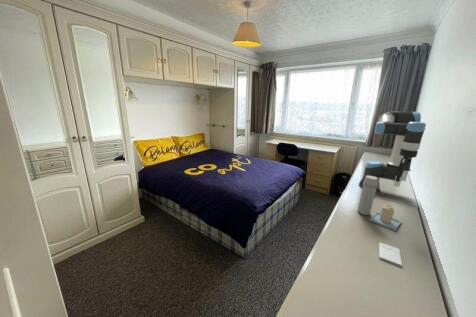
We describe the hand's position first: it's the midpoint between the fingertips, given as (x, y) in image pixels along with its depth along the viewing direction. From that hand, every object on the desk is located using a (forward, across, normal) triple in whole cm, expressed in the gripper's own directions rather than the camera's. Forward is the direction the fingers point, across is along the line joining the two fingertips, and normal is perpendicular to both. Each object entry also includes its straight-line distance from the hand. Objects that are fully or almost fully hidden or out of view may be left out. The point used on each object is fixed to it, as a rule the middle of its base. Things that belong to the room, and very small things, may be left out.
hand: (399, 183), depth 117 cm
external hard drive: (+23, +41, +10) cm, 48 cm away
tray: (+23, +10, 0) cm, 25 cm away
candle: (+22, +10, 0) cm, 25 cm away
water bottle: (+23, +11, -12) cm, 28 cm away
